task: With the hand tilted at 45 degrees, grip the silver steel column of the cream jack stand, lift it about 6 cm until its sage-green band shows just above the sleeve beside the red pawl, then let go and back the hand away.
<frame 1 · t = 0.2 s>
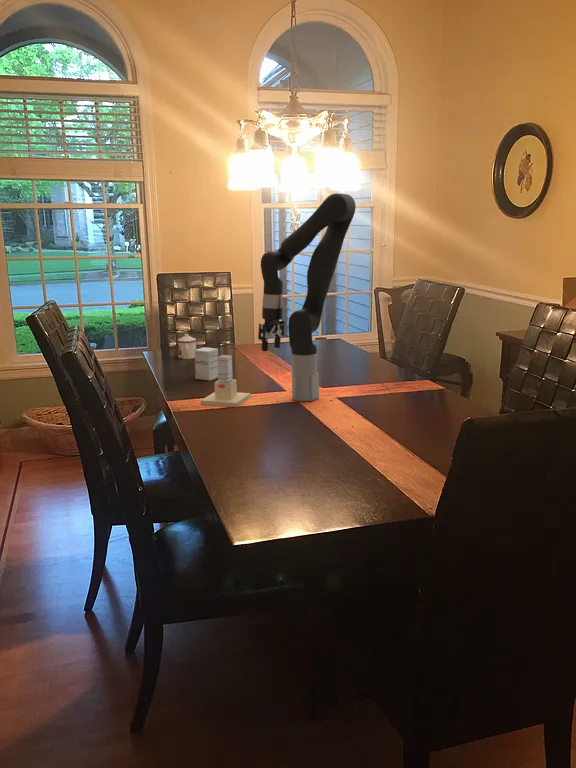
hand: (271, 349, 244), 18 cm above the table, tool pointing down, fingers open, 8 cm apart
supplement box: (207, 378, 277), on the table
teacup with lid: (187, 358, 318), on the table
column: (225, 376, 239), point 9 cm above the table, slide at 0.0 cm
stand base: (226, 400, 241), on the table
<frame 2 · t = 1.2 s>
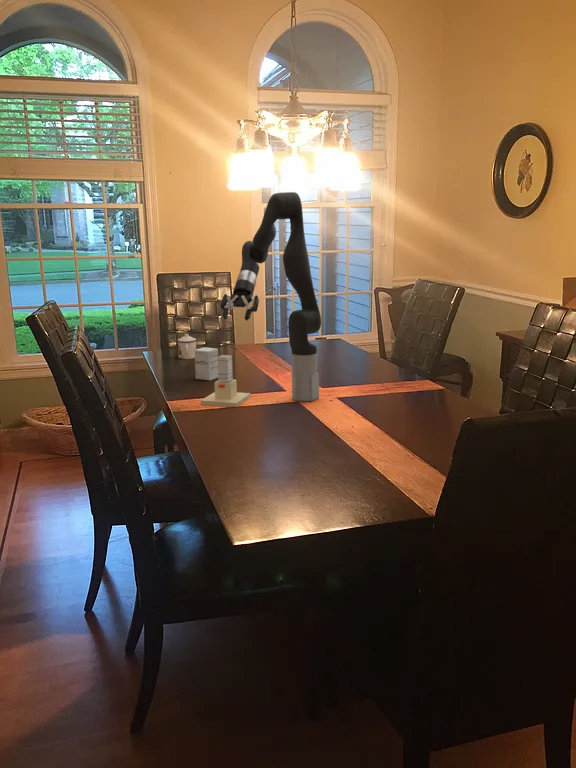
hand: (235, 318, 245), 29 cm above the table, tool tilted 45°, fingers open, 8 cm apart
nothing on the table moved.
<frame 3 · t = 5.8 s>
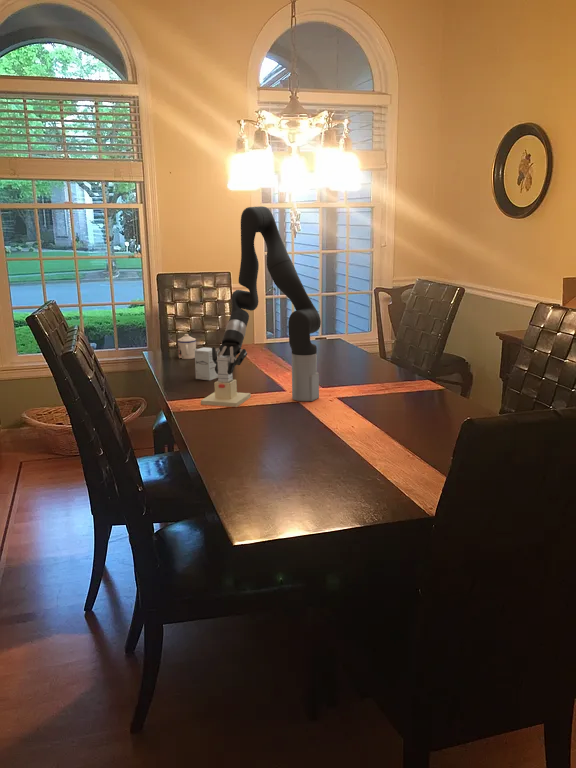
hand: (223, 372, 237), 11 cm above the table, tool tilted 45°, fingers closed on column, 4 cm apart
column: (225, 376, 239), point 9 cm above the table, slide at 0.0 cm, touching gripper
everything else where it was.
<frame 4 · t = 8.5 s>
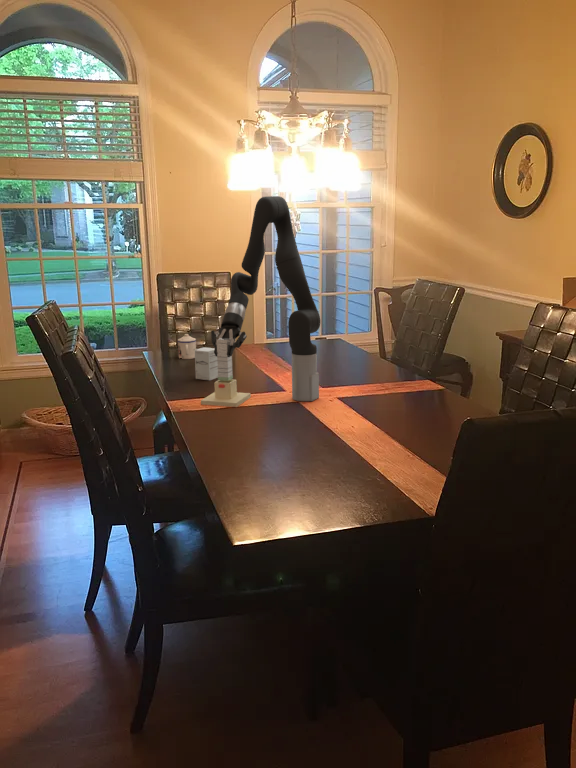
hand: (222, 355, 235), 17 cm above the table, tool tilted 45°, fingers closed on column, 4 cm apart
column: (224, 359, 237), point 16 cm above the table, slide at 6.4 cm, touching gripper
everything else where it was.
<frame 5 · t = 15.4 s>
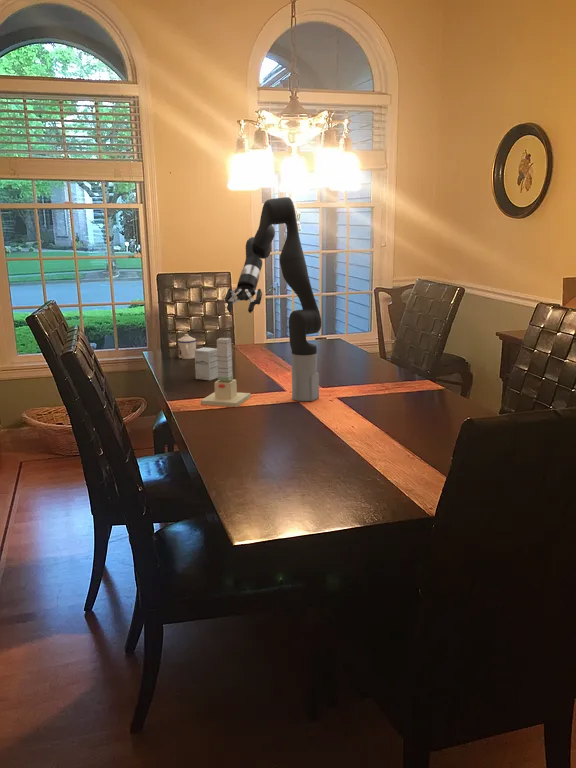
hand: (239, 311, 252), 31 cm above the table, tool tilted 45°, fingers open, 8 cm apart
column: (224, 359, 237), point 16 cm above the table, slide at 6.5 cm
everything else where it was.
at the end: column slide at 6.5 cm; the gripper is holding nothing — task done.
